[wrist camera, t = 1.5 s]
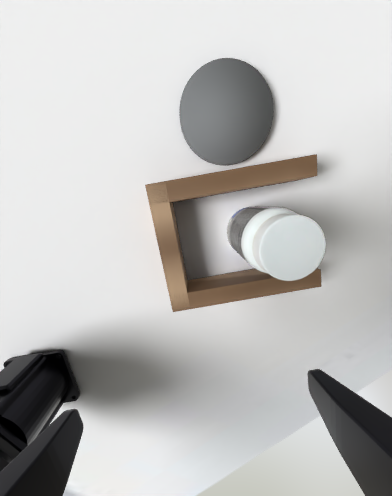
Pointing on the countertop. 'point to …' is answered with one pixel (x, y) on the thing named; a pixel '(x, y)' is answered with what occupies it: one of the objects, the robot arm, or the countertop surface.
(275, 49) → the countertop surface
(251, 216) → the pill bottle
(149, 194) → the nook
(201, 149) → the coaster
